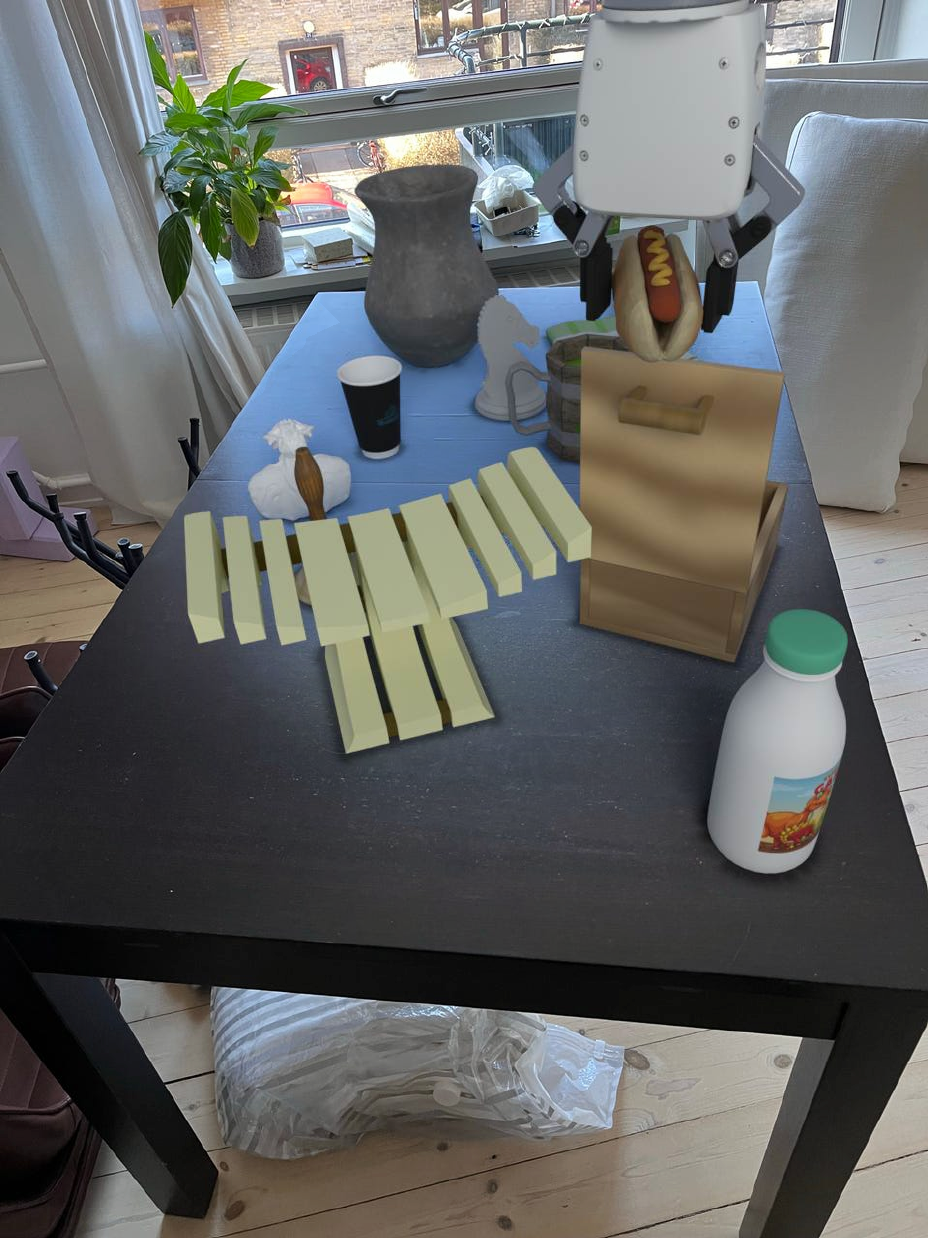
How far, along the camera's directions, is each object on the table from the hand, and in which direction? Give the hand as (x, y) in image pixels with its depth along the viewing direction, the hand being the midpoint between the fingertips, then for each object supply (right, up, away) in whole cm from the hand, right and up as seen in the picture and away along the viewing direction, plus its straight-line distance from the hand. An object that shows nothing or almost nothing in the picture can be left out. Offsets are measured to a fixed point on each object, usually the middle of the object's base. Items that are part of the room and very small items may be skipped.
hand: (653, 316), depth 57 cm
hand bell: (-26, -16, +36) cm, 47 cm away
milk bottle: (+10, -36, +9) cm, 38 cm away
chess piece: (-6, +10, +64) cm, 65 cm away
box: (+10, -16, +32) cm, 37 cm away
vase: (-16, +20, +78) cm, 82 cm away
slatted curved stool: (-18, -25, +25) cm, 39 cm away
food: (0, -1, +1) cm, 1 cm away
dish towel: (+11, +18, +73) cm, 76 cm away
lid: (+4, -8, +14) cm, 17 cm away
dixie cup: (-23, +2, +57) cm, 62 cm away
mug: (+1, +3, +55) cm, 55 cm away
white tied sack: (-31, -6, +48) cm, 58 cm away
